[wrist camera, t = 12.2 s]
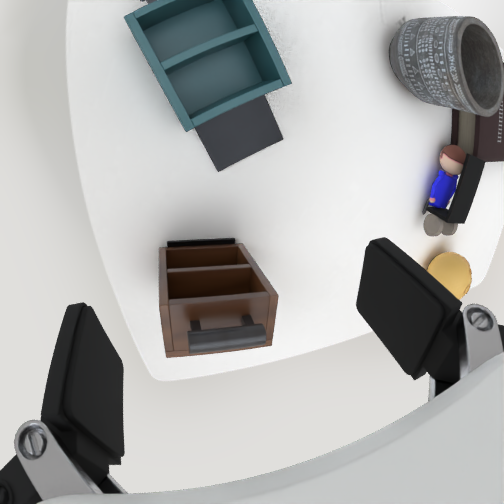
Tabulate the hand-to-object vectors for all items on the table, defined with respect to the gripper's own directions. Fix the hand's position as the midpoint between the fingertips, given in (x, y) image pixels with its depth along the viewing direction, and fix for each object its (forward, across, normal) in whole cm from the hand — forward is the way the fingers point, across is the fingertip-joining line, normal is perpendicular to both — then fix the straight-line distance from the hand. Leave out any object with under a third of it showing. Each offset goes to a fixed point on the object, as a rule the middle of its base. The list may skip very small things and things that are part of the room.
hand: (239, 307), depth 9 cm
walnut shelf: (+15, +1, +15) cm, 21 cm away
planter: (+24, -30, -12) cm, 40 cm away
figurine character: (+24, -38, +8) cm, 45 cm away
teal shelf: (+23, -2, -12) cm, 26 cm away
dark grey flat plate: (+23, -6, -2) cm, 24 cm away
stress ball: (+24, -43, +25) cm, 55 cm away
